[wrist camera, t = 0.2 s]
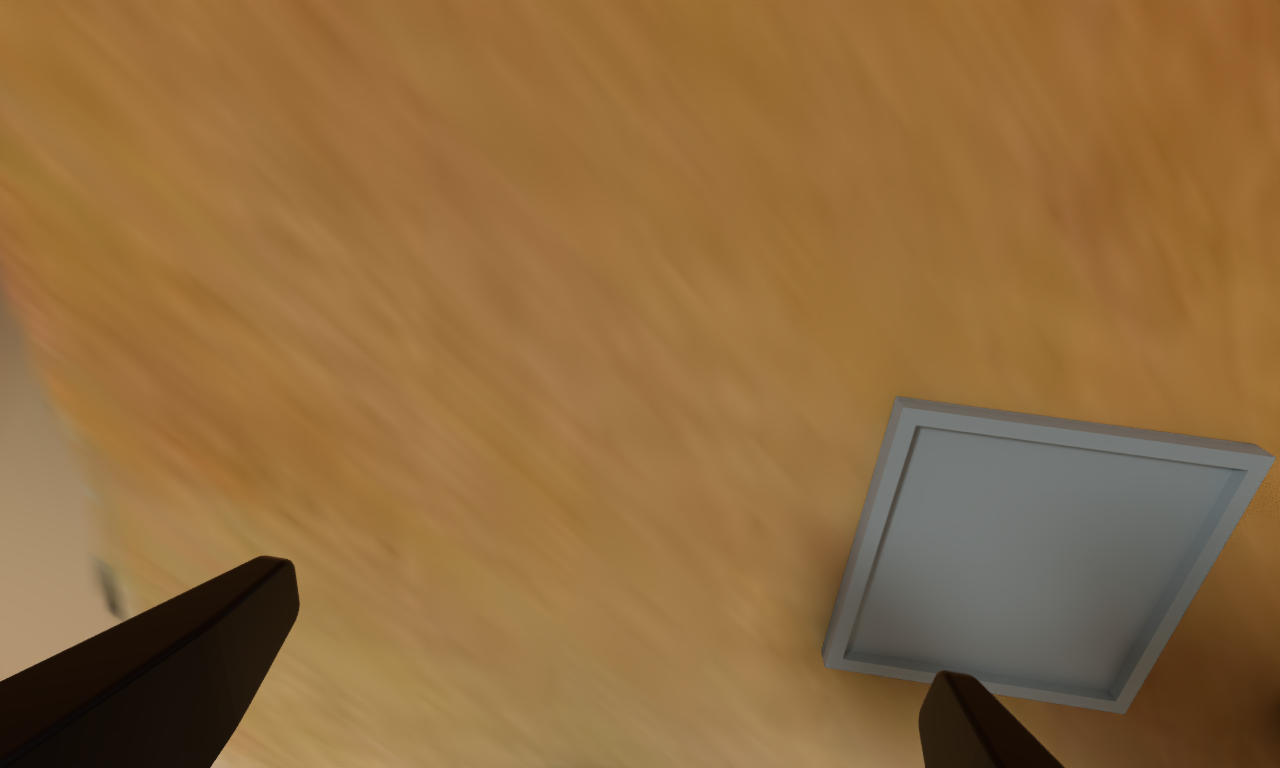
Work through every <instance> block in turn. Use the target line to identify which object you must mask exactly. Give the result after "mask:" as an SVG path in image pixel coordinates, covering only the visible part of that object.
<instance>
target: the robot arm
mask: <svg viewBox="0 0 1280 768" xmlns="http://www.w3.org/2000/svg"><path fill="white" fill-rule="evenodd" d="M299 606H300V601H299V594H298V587H297V580H296V572H295V567H294V564H293V563H292V562H291V561H290V560H288V559H284V558H278V557H272V556H259V557H257V558H254V559H252V560H250V561H248V562H246V563H244V564H242V565H240V566H238V567H236V568H234V569H232V570H230V571H228V572H225V573H223V574H221V575H219V576H217V577H215V578H213V579H211V580H209V581H207V582H205V583H203V584H201V585H199V586H197V587H194V588H192V589H190V590H188V591H186V592H184V593H182V594H180V595H178V596H176V597H174V598H172V599H170V600H168V601H166V602H164V603H161V604H159V605H157V606H155V607H153V608H151V609H149V610H147V611H145V612H143V613H141V614H139V615H137V616H135V617H133V618H131V619H128V620H126V621H124V622H122V623H120V624H118V625H116V626H114V627H112V628H110V629H108V630H106V631H104V632H102V633H100V634H98V635H95V636H94V637H91V638H89V639H87V640H85V641H83V642H81V643H79V644H77V645H75V646H73V647H71V648H69V649H67V650H64V651H62V652H60V653H58V654H56V655H54V656H52V657H50V658H48V659H46V660H44V661H42V662H40V663H38V664H36V665H34V666H32V667H30V668H27V669H25V670H23V671H21V672H19V673H17V674H15V675H13V676H11V677H9V678H7V679H5V680H3V681H0V768H210V767H211V766H212V764H213V763H214V761H215V760H216V758H217V757H218V755H219V754H220V752H221V751H222V749H223V748H224V746H225V745H226V743H227V742H228V740H229V739H230V737H231V736H232V734H233V733H234V731H235V729H236V728H237V726H238V725H239V723H240V721H241V720H242V718H243V716H244V714H245V713H246V711H247V709H248V707H249V706H250V704H251V702H252V700H253V698H254V696H255V695H256V693H257V691H258V689H259V687H260V685H261V683H262V682H263V680H264V678H265V676H266V674H267V672H268V671H269V669H270V667H271V665H272V663H273V661H274V660H275V658H276V656H277V654H278V652H279V650H280V648H281V647H282V645H283V643H284V641H285V639H286V637H287V636H288V634H289V632H290V630H291V628H292V626H293V625H294V623H295V621H296V618H297V615H298V612H299ZM919 733H920V739H921V745H922V751H923V757H924V763H925V768H1065V767H1064V766H1063V765H1062V764H1061V763H1060V762H1059V761H1058V760H1057V759H1056V758H1055V757H1054V756H1053V755H1052V754H1051V753H1050V752H1049V751H1048V750H1047V749H1046V748H1045V747H1044V746H1043V745H1042V744H1041V743H1040V742H1039V741H1038V740H1037V739H1036V738H1035V737H1034V736H1033V735H1032V734H1031V733H1030V732H1029V731H1028V730H1027V729H1026V728H1025V727H1024V726H1023V725H1022V724H1021V723H1020V722H1019V721H1018V720H1017V719H1016V718H1015V717H1014V716H1013V715H1012V714H1011V713H1010V712H1009V711H1008V710H1007V709H1006V708H1005V707H1004V706H1003V705H1002V704H1001V703H1000V702H999V701H998V700H997V699H996V698H995V697H994V696H993V695H992V694H991V693H990V692H989V691H988V690H987V689H986V688H985V687H984V686H983V685H982V684H981V682H980V681H979V680H977V679H976V678H975V677H974V676H972V675H970V674H967V673H961V672H955V671H950V670H941V671H939V672H938V673H937V674H936V676H935V677H934V680H933V682H932V684H931V686H930V689H929V691H928V693H927V695H926V698H925V700H924V702H923V704H922V707H921V709H920V713H919Z"/></svg>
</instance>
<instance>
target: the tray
mask: <svg viewBox="0 0 1280 768" xmlns="http://www.w3.org/2000/svg"><path fill="white" fill-rule="evenodd" d="M1275 459H1276V457H1275V456H1273V455H1271V454H1270V453H1268V452H1267V451H1265V450H1263V449H1262V448H1260V447H1259V446H1257V445H1255V444H1249V443H1241V442H1234V441H1226V440H1219V439H1211V438H1204V437H1197V436H1189V435H1182V434H1174V433H1167V432H1159V431H1152V430H1144V429H1137V428H1129V427H1122V426H1114V425H1107V424H1099V423H1092V422H1084V421H1077V420H1069V419H1062V418H1054V417H1047V416H1039V415H1032V414H1024V413H1017V412H1009V411H1002V410H994V409H987V408H979V407H972V406H964V405H957V404H949V403H942V402H934V401H927V400H919V399H912V398H904V397H897V396H896V399H895V402H894V406H893V409H892V412H891V416H890V419H889V423H888V426H887V429H886V433H885V436H884V440H883V443H882V446H881V450H880V453H879V457H878V460H877V463H876V467H875V470H874V474H873V477H872V480H871V484H870V487H869V491H868V494H867V497H866V501H865V504H864V508H863V511H862V514H861V518H860V521H859V525H858V528H857V531H856V535H855V538H854V542H853V545H852V548H851V552H850V555H849V559H848V562H847V565H846V569H845V572H844V576H843V579H842V582H841V586H840V589H839V593H838V596H837V599H836V603H835V606H834V610H833V613H832V616H831V620H830V623H829V627H828V630H827V633H826V637H825V640H824V644H823V647H822V656H823V661H824V666H825V667H826V668H832V669H838V670H845V671H851V672H857V673H864V674H870V675H877V676H883V677H889V678H896V679H902V680H908V681H915V682H921V683H928V684H932V682H933V680H934V677H935V676H936V674H937V673H938V672H939V671H941V670H950V671H955V672H961V673H967V674H970V675H972V676H974V677H975V678H976V679H977V680H979V681H980V682H981V684H982V685H983V686H984V687H985V688H986V689H987V690H988V691H989V692H990V693H991V694H998V695H1004V696H1010V697H1017V698H1023V699H1029V700H1036V701H1042V702H1049V703H1055V704H1061V705H1068V706H1074V707H1080V708H1087V709H1093V710H1100V711H1106V712H1112V713H1119V714H1125V713H1126V712H1127V710H1128V708H1129V707H1130V705H1131V703H1132V701H1133V700H1134V698H1135V696H1136V695H1137V693H1138V691H1139V690H1140V688H1141V686H1142V684H1143V683H1144V681H1145V679H1146V678H1147V676H1148V674H1149V673H1150V671H1151V669H1152V668H1153V666H1154V664H1155V662H1156V661H1157V659H1158V657H1159V656H1160V654H1161V652H1162V651H1163V649H1164V647H1165V645H1166V644H1167V642H1168V640H1169V639H1170V637H1171V635H1172V634H1173V632H1174V630H1175V628H1176V627H1177V625H1178V623H1179V622H1180V620H1181V618H1182V617H1183V615H1184V613H1185V612H1186V610H1187V608H1188V606H1189V605H1190V603H1191V601H1192V600H1193V598H1194V596H1195V595H1196V593H1197V591H1198V589H1199V588H1200V586H1201V584H1202V583H1203V581H1204V579H1205V578H1206V576H1207V574H1208V572H1209V571H1210V569H1211V567H1212V566H1213V564H1214V562H1215V561H1216V559H1217V557H1218V555H1219V554H1220V552H1221V550H1222V549H1223V547H1224V545H1225V544H1226V542H1227V540H1228V539H1229V537H1230V535H1231V533H1232V532H1233V530H1234V528H1235V527H1236V525H1237V523H1238V522H1239V520H1240V518H1241V516H1242V515H1243V513H1244V511H1245V510H1246V508H1247V506H1248V505H1249V503H1250V501H1251V499H1252V498H1253V496H1254V494H1255V493H1256V491H1257V489H1258V488H1259V486H1260V484H1261V483H1262V481H1263V479H1264V477H1265V476H1266V474H1267V472H1268V471H1269V469H1270V467H1271V466H1272V464H1273V462H1274V460H1275Z"/></svg>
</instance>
